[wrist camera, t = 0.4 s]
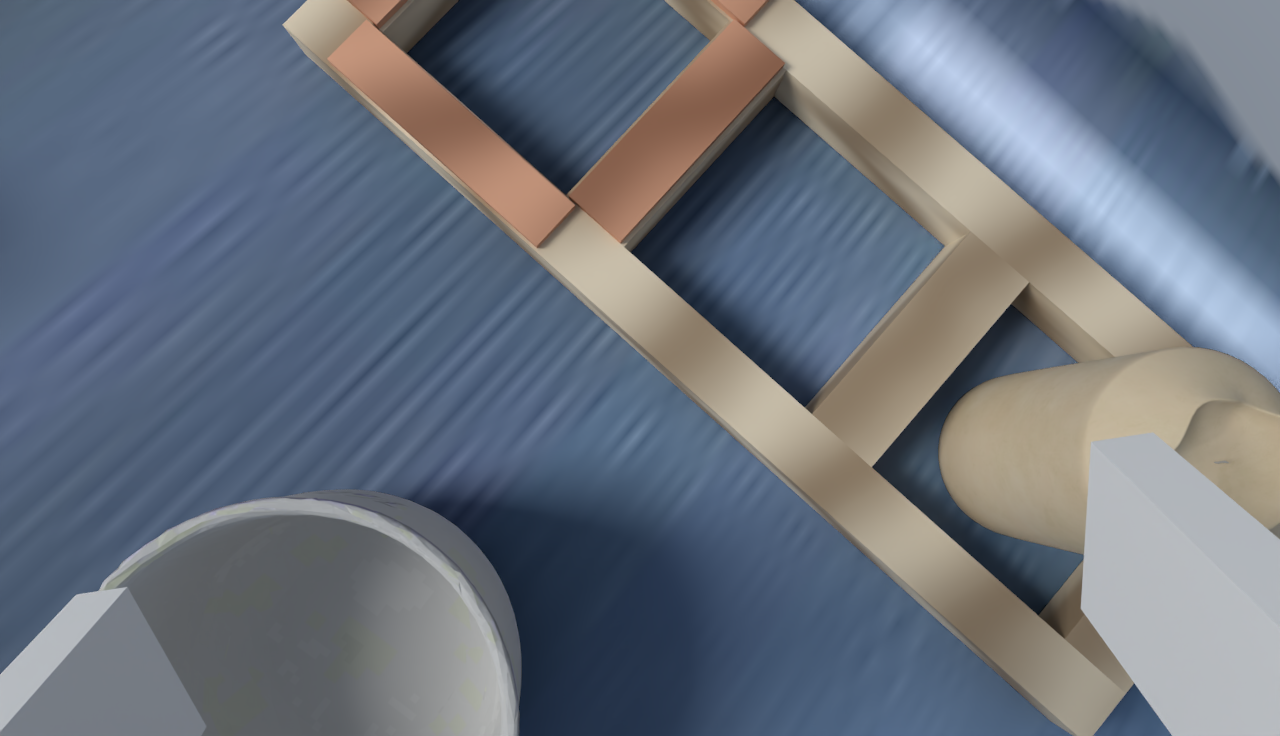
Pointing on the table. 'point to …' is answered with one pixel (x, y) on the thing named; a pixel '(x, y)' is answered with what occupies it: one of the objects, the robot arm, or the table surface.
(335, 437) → the table surface
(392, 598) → the teacup
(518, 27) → the table surface
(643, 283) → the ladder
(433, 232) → the table surface
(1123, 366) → the candle
